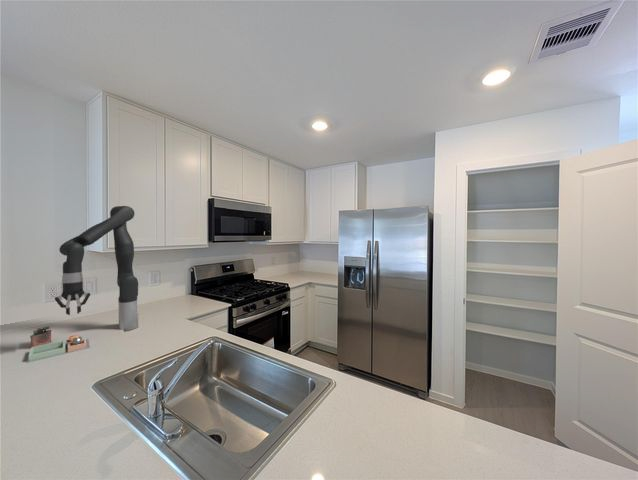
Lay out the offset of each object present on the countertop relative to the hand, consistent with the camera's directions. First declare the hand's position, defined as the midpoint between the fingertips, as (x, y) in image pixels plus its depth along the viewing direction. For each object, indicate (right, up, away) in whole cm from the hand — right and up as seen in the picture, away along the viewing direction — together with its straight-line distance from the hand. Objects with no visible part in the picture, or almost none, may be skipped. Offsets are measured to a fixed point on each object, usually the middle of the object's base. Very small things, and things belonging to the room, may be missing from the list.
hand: (73, 313), depth 129 cm
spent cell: (+5, -16, -4) cm, 17 cm away
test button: (0, -16, +1) cm, 16 cm away
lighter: (-16, -17, -1) cm, 23 cm away
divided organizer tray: (-1, -17, -6) cm, 18 cm away
